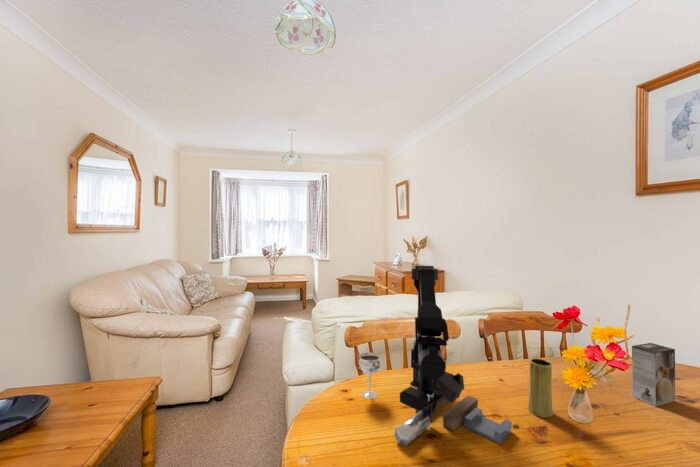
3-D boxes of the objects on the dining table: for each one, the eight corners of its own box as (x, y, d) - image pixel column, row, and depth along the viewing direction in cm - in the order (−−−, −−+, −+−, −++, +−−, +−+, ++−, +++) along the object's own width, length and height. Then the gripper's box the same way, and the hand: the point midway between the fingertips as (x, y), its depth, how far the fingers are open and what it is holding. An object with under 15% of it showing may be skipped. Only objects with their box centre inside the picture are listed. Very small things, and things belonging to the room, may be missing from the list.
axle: (409, 447, 74) (406, 429, 75) (396, 444, 77) (392, 426, 78) (431, 428, 82) (428, 412, 82) (418, 426, 84) (415, 410, 85)
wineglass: (355, 397, 98) (355, 358, 98) (362, 387, 104) (363, 351, 104) (376, 402, 95) (376, 362, 95) (382, 391, 101) (383, 354, 101)
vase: (556, 419, 87) (557, 367, 87) (532, 416, 88) (532, 365, 88) (547, 407, 93) (548, 358, 93) (524, 405, 94) (525, 356, 94)
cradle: (464, 427, 83) (464, 417, 83) (476, 416, 88) (476, 407, 88) (501, 444, 77) (501, 433, 76) (511, 431, 81) (511, 421, 81)
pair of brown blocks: (415, 412, 90) (415, 401, 90) (441, 395, 99) (441, 385, 99) (453, 431, 81) (453, 418, 81) (477, 410, 91) (477, 399, 91)
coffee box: (650, 392, 102) (650, 342, 102) (675, 402, 96) (676, 349, 96) (631, 396, 99) (631, 345, 99) (656, 407, 93) (656, 352, 93)
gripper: (438, 383, 72) (438, 452, 72) (475, 360, 85) (474, 418, 85) (398, 368, 80) (398, 430, 80) (437, 349, 93) (437, 402, 93)
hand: (429, 420), depth 84 cm, fingers closed
